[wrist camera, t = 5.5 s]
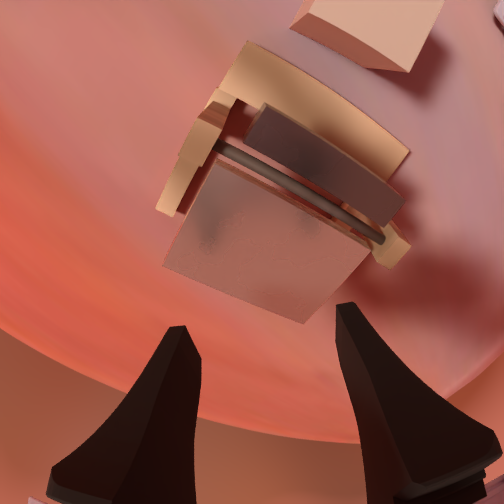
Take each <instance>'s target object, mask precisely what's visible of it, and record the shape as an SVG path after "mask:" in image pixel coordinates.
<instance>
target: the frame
mask: <svg viewBox="0 0 504 504" xmlns="http://www.w3.org/2000/svg"><path fill="white" fill-rule="evenodd" d="M237 98H238V99H240V100H242V101H244V102H246V103H247V104H249V105H251V106H253V107H255V108H257V109H258V110H259V109H260V108H261V106H262V104H263V103H264V102H266V103H267V104H269V105H271V106H273V107H274V108H276V109H278V110H280V111H281V112H283V113H285V114H286V115H288V116H290V117H291V118H293V119H295V120H296V121H298V122H300V123H301V124H303V125H305V126H306V127H308V128H309V129H311V130H312V131H314V132H316V133H317V134H319V135H320V136H322V137H323V138H325V139H326V140H328V141H329V142H331V143H332V144H334V145H335V146H337V147H338V148H340V149H341V150H343V151H344V152H346V153H347V154H349V155H350V156H351V157H353V158H354V159H356V160H357V161H358V162H360V163H361V164H363V165H364V166H365V167H367V168H368V169H369V170H371V171H372V172H374V173H375V174H376V175H378V176H379V177H380V178H381V179H383V180H384V181H385V182H387V180H388V179H389V178H390V176H391V175H392V174H393V172H394V171H395V170H396V168H397V167H398V166H399V164H400V163H401V162H402V160H403V159H404V157H405V156H406V155H407V153H408V152H409V150H408V149H407V148H406V147H405V146H404V145H402V144H401V143H400V142H399V141H398V140H397V139H395V138H394V137H393V136H392V135H391V134H389V133H388V132H387V131H386V130H384V129H383V128H382V127H381V126H380V125H378V124H377V123H376V122H374V121H373V120H372V119H371V118H369V117H368V116H367V115H365V114H364V113H363V112H361V111H360V110H359V109H357V108H356V107H355V106H353V105H352V104H351V103H349V102H348V101H346V100H345V99H344V98H342V97H341V96H339V95H338V94H337V93H335V92H334V91H332V90H331V89H329V88H328V87H326V86H325V85H323V84H322V83H320V82H319V81H317V80H316V79H314V78H312V77H311V76H309V75H308V74H306V73H304V72H303V71H301V70H300V69H298V68H296V67H295V66H293V65H291V64H290V63H288V62H286V61H284V60H283V59H281V58H279V57H277V56H276V55H274V54H272V53H270V52H268V51H267V50H265V49H263V48H261V47H259V46H257V45H255V44H253V43H251V42H249V41H247V42H246V44H245V45H244V47H243V48H242V50H241V52H240V53H239V55H238V56H237V58H236V60H235V61H234V63H233V64H232V66H231V68H230V69H229V71H228V73H227V74H226V76H225V78H224V79H223V81H222V83H221V84H220V86H219V87H217V88H216V89H215V91H214V93H213V94H212V96H211V98H210V100H209V102H208V103H207V105H206V107H205V109H204V111H203V112H202V113H201V114H200V115H199V116H198V117H197V119H196V121H195V122H194V124H193V126H192V128H191V130H190V132H189V134H188V136H187V138H186V140H185V142H184V144H183V146H182V148H181V150H180V152H179V154H178V156H180V157H179V159H178V161H177V163H176V165H175V167H174V169H173V171H172V173H171V175H170V177H169V179H168V181H167V184H166V186H165V188H164V190H163V192H162V195H161V197H160V199H159V201H158V203H157V206H156V208H155V209H156V210H159V211H161V212H163V213H165V214H167V215H169V216H171V217H173V216H174V214H175V211H176V209H177V207H178V205H179V203H180V201H181V199H182V197H183V195H184V193H185V191H186V189H187V187H188V185H189V183H190V182H191V180H192V178H193V176H194V174H195V172H196V170H197V168H198V166H201V167H202V166H203V164H204V162H205V160H206V158H207V156H208V155H209V153H210V151H211V149H212V150H214V151H216V152H218V153H220V154H222V155H224V156H226V157H228V158H230V159H231V160H233V161H235V162H237V163H239V164H241V165H243V166H245V167H247V168H249V169H251V170H252V171H254V172H256V173H258V174H260V175H262V176H264V177H265V178H267V179H269V180H271V181H273V182H275V183H276V184H278V185H280V186H282V187H284V188H285V189H287V190H289V191H291V192H292V193H294V194H296V195H298V196H300V197H301V198H303V199H305V200H306V201H308V202H310V203H312V204H313V205H315V206H317V207H319V208H320V209H322V210H324V211H325V212H327V213H329V214H330V215H332V218H331V219H330V220H331V221H333V222H335V223H336V224H338V225H340V226H341V227H343V228H345V229H346V230H348V231H350V230H351V229H352V228H353V229H355V230H357V231H358V232H360V233H361V235H362V236H363V238H364V240H365V241H366V242H367V244H368V246H369V248H370V250H371V252H372V254H373V256H374V258H375V260H376V262H377V263H379V264H381V265H382V266H384V267H386V268H387V269H389V270H391V269H392V268H393V267H394V266H395V265H396V264H397V262H398V261H399V260H400V259H401V258H402V257H403V256H404V255H405V253H406V252H407V251H408V250H409V249H410V248H411V244H410V243H409V242H408V240H407V239H406V238H405V236H404V235H403V234H402V232H401V231H400V230H399V228H398V227H397V226H396V224H395V223H394V222H393V220H392V219H391V220H390V221H389V223H388V224H387V225H386V226H385V228H383V227H381V226H380V225H378V224H377V223H375V222H374V221H372V220H371V219H369V218H368V217H366V216H365V215H363V214H362V213H360V212H359V211H357V210H356V209H354V208H353V207H351V206H349V205H348V204H346V203H345V202H343V203H342V205H341V206H340V207H339V206H338V205H336V204H334V203H333V202H331V201H330V200H328V199H326V198H325V197H323V196H321V195H320V194H318V193H316V192H315V191H313V190H311V189H310V188H308V187H306V186H305V185H303V184H301V183H299V182H298V181H296V180H294V179H293V178H291V177H289V176H287V175H286V174H284V173H282V172H280V171H279V170H277V169H275V168H273V167H271V166H270V165H268V164H266V163H264V162H262V161H260V160H259V159H257V158H255V157H253V156H251V155H249V154H247V153H246V152H244V151H242V150H240V149H238V148H236V147H234V146H232V145H230V144H228V143H226V142H225V141H223V140H221V139H219V138H218V137H219V135H220V133H221V131H222V129H223V127H224V124H225V121H226V119H227V116H228V114H229V111H230V109H231V107H232V105H233V104H234V102H235V100H236V99H237Z"/></svg>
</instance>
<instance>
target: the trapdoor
mask: <svg viewBox="0 0 504 504" xmlns="http://www.w3.org/2000/svg"><path fill="white" fill-rule="evenodd" d="M243 143H244V144H246V145H248V146H249V147H251V148H253V149H255V150H257V151H259V152H260V153H262V154H264V155H266V156H268V157H270V158H271V159H273V160H275V161H277V162H278V163H280V164H282V165H284V166H285V167H287V168H289V169H291V170H292V171H294V172H296V173H297V174H299V175H301V176H303V177H304V178H306V179H308V180H309V181H311V182H313V183H314V184H316V185H318V186H319V187H321V188H322V189H324V190H326V191H327V192H329V193H331V194H332V195H334V196H335V197H337V198H339V199H340V200H342V201H343V202H345V203H346V204H348V205H349V206H351V207H353V208H354V209H356V210H357V211H359V212H360V213H362V214H363V215H365V216H366V217H368V218H369V219H371V220H372V221H374V222H375V223H377V224H378V225H380V226H381V227H383V228H385V226H386V225H387V224H388V223H389V221H390V220H391V219H392V218H393V216H394V215H395V214H396V213H397V211H398V210H399V209H400V208H401V206H402V205H403V204H404V203H405V201H406V200H405V199H404V198H403V197H402V196H401V195H400V194H399V193H398V192H397V191H396V190H395V189H394V188H393V187H392V186H391V185H389V184H388V183H387V182H385V181H384V180H383V179H381V178H380V177H379V176H378V175H376V174H375V173H374V172H372V171H371V170H369V169H368V168H367V167H365V166H364V165H363V164H361V163H360V162H358V161H357V160H356V159H354V158H353V157H351V156H350V155H349V154H347V153H346V152H344V151H343V150H341V149H340V148H338V147H337V146H335V145H334V144H332V143H331V142H329V141H328V140H326V139H325V138H323V137H322V136H320V135H319V134H317V133H316V132H314V131H312V130H311V129H309V128H308V127H306V126H305V125H303V124H301V123H300V122H298V121H296V120H295V119H293V118H291V117H290V116H288V115H286V114H285V113H283V112H281V111H280V110H278V109H276V108H274V107H273V106H271V105H269V104H267V103H266V102H264V103H263V104H262V106H261V108H260V109H259V111H258V112H257V114H256V116H255V117H254V119H253V120H252V122H251V124H250V125H249V127H248V129H247V130H246V132H245V134H244V139H243ZM370 251H371V250H370V248H369V246H368V244H367V242H366V241H364V240H363V239H361V238H359V237H358V236H356V235H355V234H353V233H351V232H350V231H348V230H346V229H345V228H343V227H341V226H340V225H338V224H336V223H335V222H333V221H331V220H330V219H328V218H326V217H324V216H323V215H321V214H319V213H318V212H316V211H314V210H312V209H311V208H309V207H307V206H305V205H304V204H302V203H300V202H298V201H297V200H295V199H293V198H291V197H289V196H288V195H286V194H284V193H282V192H280V191H279V190H277V189H275V188H273V187H271V186H270V185H268V184H266V183H264V182H262V181H260V180H258V179H256V178H255V177H253V176H251V175H249V174H247V173H245V172H243V171H241V170H239V169H237V168H236V167H234V166H232V165H230V164H228V163H226V162H224V161H222V160H220V159H218V158H216V160H215V162H214V164H213V166H212V167H211V169H210V171H209V173H208V175H207V176H206V178H205V180H204V182H203V184H202V186H201V188H200V189H199V191H198V193H197V195H196V197H195V199H194V201H193V203H192V205H191V206H190V208H189V210H188V212H187V214H186V216H185V218H184V220H183V222H182V224H181V226H180V228H179V230H178V232H177V234H176V236H175V238H174V240H173V242H172V244H171V246H170V248H169V250H168V252H167V254H166V257H165V259H164V262H163V265H162V266H164V267H166V268H168V269H170V270H173V271H175V272H177V273H179V274H182V275H184V276H186V277H188V278H191V279H193V280H195V281H198V282H200V283H202V284H205V285H207V286H209V287H212V288H214V289H217V290H219V291H221V292H224V293H226V294H228V295H231V296H233V297H236V298H238V299H241V300H243V301H245V302H248V303H250V304H253V305H255V306H258V307H260V308H263V309H265V310H268V311H270V312H273V313H275V314H278V315H280V316H283V317H286V318H288V319H291V320H293V321H296V322H298V323H301V324H304V323H305V322H306V321H307V320H308V319H309V318H310V317H311V316H312V315H313V314H314V313H315V312H316V311H317V310H318V309H319V308H320V307H321V306H322V305H323V304H324V302H325V301H326V300H327V299H328V298H329V297H330V296H331V295H332V294H333V293H334V292H335V291H336V290H337V289H338V287H339V286H340V285H341V284H342V283H343V282H344V281H345V280H346V279H347V278H348V276H349V275H350V274H351V273H352V272H353V271H354V270H355V269H356V268H357V266H358V265H359V264H360V263H361V262H362V261H363V260H364V258H365V257H366V256H367V255H368V254H369V253H370Z"/></svg>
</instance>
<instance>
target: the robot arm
mask: <svg viewBox="0 0 504 504" xmlns="http://www.w3.org/2000/svg"><path fill="white" fill-rule="evenodd" d="M494 14H495V16H496V18H497V19H498V20H499V22H500V23H501V24H502V25H503V27H504V0H498V2H497V4H496V6H495V7H494ZM335 342H336V347H337V352H338V357H339V362H340V367H341V370H342V373H343V376H344V380H345V383H346V386H347V389H348V393H349V396H350V399H351V403H352V406H353V409H354V413H355V416H356V421H357V425H358V430H359V436H360V442H361V449H362V456H363V463H364V472H365V481H366V492H367V504H504V474H503V475H501V476H500V477H498V478H496V479H494V480H492V481H491V482H489V483H487V484H485V485H484V482H483V478H485V477H486V473H485V470H484V468H486V467H487V466H489V465H490V464H492V463H493V462H495V461H496V460H497V459H499V458H500V457H501V456H502V454H503V452H502V449H501V446H500V443H499V441H498V438H497V437H496V435H495V433H494V431H493V430H492V429H490V428H488V427H486V426H484V425H482V424H481V423H479V422H477V421H476V420H474V419H472V418H471V417H469V416H468V415H466V414H465V413H463V412H462V411H460V410H458V409H457V408H456V407H454V406H453V405H452V404H450V403H449V402H448V401H446V400H445V399H444V398H442V397H441V396H440V395H438V394H437V393H436V392H434V391H433V390H432V389H431V388H430V387H429V386H427V385H426V384H425V383H424V382H423V381H422V380H421V379H420V378H419V377H417V376H416V375H415V374H414V373H413V372H412V371H411V370H410V369H409V368H408V367H407V366H406V365H405V364H404V363H403V362H402V361H401V360H400V358H399V357H398V356H397V355H396V354H395V353H394V352H393V351H392V350H391V349H390V347H389V346H388V345H387V344H386V343H385V342H384V340H383V339H382V338H381V337H380V336H379V334H378V333H377V332H376V331H375V329H374V328H373V327H372V326H371V324H370V323H369V322H368V320H367V319H366V318H365V316H364V315H363V314H362V312H361V311H360V309H359V308H358V306H357V305H356V303H354V302H348V303H343V304H337V305H336V339H335ZM200 389H201V357H200V355H199V353H198V351H197V349H196V347H195V345H194V343H193V341H192V339H191V337H190V334H189V332H188V330H187V328H186V326H185V325H184V326H174V327H169V329H168V330H167V332H166V334H165V335H164V337H163V339H162V340H161V342H160V344H159V345H158V347H157V349H156V350H155V352H154V354H153V355H152V357H151V359H150V360H149V362H148V364H147V365H146V367H145V368H144V370H143V372H142V373H141V375H140V376H139V378H138V379H137V381H136V382H135V384H134V385H133V387H132V388H131V389H130V391H129V392H128V394H127V395H126V397H125V398H124V399H123V401H122V402H121V403H120V404H119V406H118V407H117V408H116V409H115V411H114V412H113V413H112V414H111V416H110V417H109V418H108V419H107V420H106V421H105V422H104V423H103V424H102V425H101V427H99V428H98V429H97V431H96V432H95V433H94V434H93V435H92V436H90V438H88V439H87V440H86V441H85V442H84V443H83V444H82V445H81V446H79V447H78V448H77V449H76V450H75V451H73V452H72V453H71V454H70V455H68V456H67V457H65V458H64V459H63V460H61V461H60V462H59V463H57V464H56V465H54V466H53V467H52V469H51V474H50V478H49V482H48V487H47V491H46V495H47V497H48V498H51V499H53V500H55V501H57V502H60V503H62V504H196V491H195V474H194V437H195V427H196V419H197V412H198V405H199V397H200ZM28 504H47V503H45V502H42V501H40V500H38V499H36V498H33V497H29V501H28Z"/></svg>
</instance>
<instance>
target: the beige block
mask: <svg viewBox="0 0 504 504" xmlns="http://www.w3.org/2000/svg"><path fill="white" fill-rule="evenodd" d="M444 1H445V0H304V2H303V3H302V5H301V7H300V9H299V11H298V13H297V14H296V16H295V18H294V20H293V22H292V24H291V26H290V28H289V29H291V30H294V31H296V32H298V33H300V34H302V35H304V36H306V37H308V38H311V39H313V40H315V41H317V42H319V43H321V44H322V45H324V46H326V47H328V48H330V49H332V50H334V51H336V52H337V53H339V54H341V55H343V56H345V57H346V58H348V59H350V60H352V61H353V62H355V63H357V64H358V65H360V66H362V67H364V68H375V69H384V70H393V71H400V72H408V73H409V72H410V70H411V68H412V66H413V64H414V62H415V60H416V58H417V56H418V54H419V52H420V50H421V48H422V46H423V44H424V42H425V40H426V38H427V36H428V34H429V32H430V30H431V28H432V26H433V24H434V22H435V20H436V18H437V16H438V14H439V12H440V10H441V7H442V5H443V3H444Z"/></svg>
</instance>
